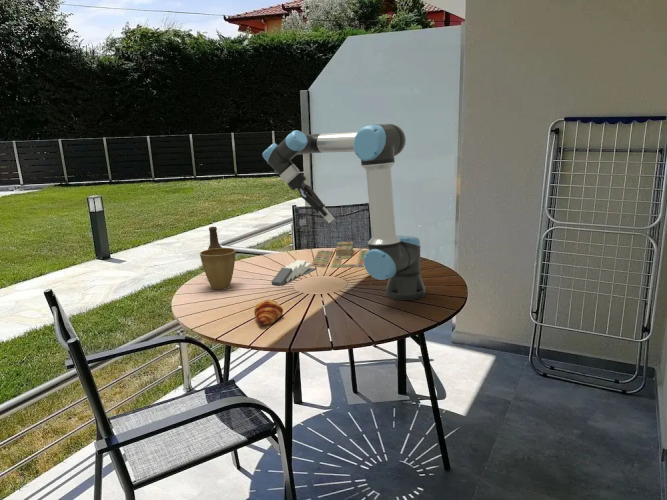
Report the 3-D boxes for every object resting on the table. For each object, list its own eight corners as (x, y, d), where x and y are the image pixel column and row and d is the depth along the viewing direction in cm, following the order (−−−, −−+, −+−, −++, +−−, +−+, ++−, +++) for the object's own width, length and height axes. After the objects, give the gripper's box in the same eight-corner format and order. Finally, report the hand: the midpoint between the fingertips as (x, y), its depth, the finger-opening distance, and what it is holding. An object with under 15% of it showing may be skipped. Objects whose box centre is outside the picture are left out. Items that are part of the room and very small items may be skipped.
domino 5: (300, 272, 234) (310, 262, 242) (291, 271, 236) (301, 262, 244) (301, 275, 235) (311, 265, 243) (291, 274, 237) (302, 265, 245)
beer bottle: (206, 280, 233) (200, 228, 228) (214, 276, 241) (208, 225, 235) (222, 281, 232) (216, 228, 226) (229, 276, 239) (224, 225, 233)
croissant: (267, 316, 195) (256, 298, 193) (290, 303, 193) (278, 286, 192) (256, 337, 174) (243, 318, 173) (281, 323, 172) (268, 303, 171)
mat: (306, 274, 236) (306, 273, 236) (291, 272, 239) (291, 272, 239) (315, 269, 244) (315, 268, 243) (301, 267, 247) (301, 267, 247)
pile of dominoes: (318, 252, 280) (317, 242, 278) (368, 251, 276) (368, 241, 275) (308, 269, 246) (307, 258, 245) (364, 268, 243) (364, 257, 242)
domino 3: (291, 277, 227) (301, 263, 234) (281, 276, 229) (291, 262, 236) (292, 279, 228) (302, 265, 235) (282, 279, 230) (292, 265, 237)
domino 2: (286, 279, 223) (296, 265, 230) (276, 278, 226) (287, 264, 233) (287, 282, 224) (297, 268, 231) (277, 281, 226) (287, 267, 234)
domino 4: (296, 274, 231) (305, 260, 238) (286, 273, 233) (296, 259, 240) (297, 277, 231) (306, 263, 238) (287, 276, 234) (297, 262, 241)
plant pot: (225, 294, 213) (221, 256, 209) (196, 291, 219) (192, 254, 215) (245, 283, 226) (242, 248, 222) (218, 281, 232) (214, 246, 228)
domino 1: (281, 282, 220) (291, 268, 227) (271, 281, 222) (282, 267, 229) (282, 285, 220) (292, 271, 228) (272, 284, 223) (283, 270, 230)
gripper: (290, 180, 217) (327, 222, 221) (283, 186, 205) (322, 230, 208) (302, 168, 215) (340, 211, 218) (297, 174, 202) (336, 219, 206)
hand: (331, 220), depth 213 cm, fingers closed
